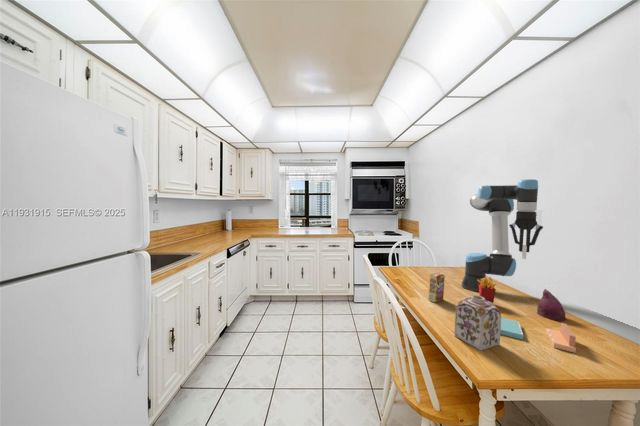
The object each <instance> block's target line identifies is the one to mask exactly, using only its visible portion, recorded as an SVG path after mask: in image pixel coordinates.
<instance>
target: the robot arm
mask: <svg viewBox="0 0 640 426" xmlns="http://www.w3.org/2000/svg"><path fill="white" fill-rule="evenodd" d="M538 181H539V180H537V179H535V178H534V179H533V178H532V179H519V180H518V181H517V184H514V185H513V184H512V185H511V184H510V185H509V184H508V185H488V184H487V185H480V186H479V188H478V190H477V192H478V193H476V194H474V195H472V196H471V198H470V200H469V205H470V206H471V207H472V208H473V209H475V210H478V211H483V212H488V214H489V216H491V241H492V242H491V244H492V245H491V246H492V247H491V252H490V253H489V255H487V253H483V252H482V253H481V252H472V253H471V252H470V253H468V254H466V255H465V262H464V263H465V264H464V265H465V266H464V269H465V270H464V277H463V278H462V281H461V285H460V286H461V288H463V289H465V290H468V291H471V290H472V291H471V292H476V291H477V293H479V284H480V283H479V282H478V281H477V279H478V280H480V279H482V278H485V277H486V276H487V275H492V276H501V277H512V276H514V274H515V272H516V269H517V260H516V259H515V258H514V257H513V255H512V254H511V253H510V251H509V250H510V249H509V228H510V229H511V233H512V237H513V241H514V244H517V245H518V251H519V252H520V253H521V255H520V256H521V258H520V259H522V260H527V253H530V247H531V246H535V244H536V242H537V240H538V237H539V234H540V231H542V229H543V228H544V226H542V225H540V224H538V221H537V210H538V209H537V208H538V205H537V204H538V192H539V182H538ZM515 201H516V212H515V213H516V215H515V216H516V217H515V220H514V223H509V220H508V219H509V218H508V217H509V216H510V215H511V213H512V212H513V211H514V209H515V203H514V202H515ZM516 227H517V228H518V229H519V240H518V235H517V232H516ZM534 228H535V231H534V234H533V235H532V239H531V232H532V230H533V229H534ZM524 233H525V235H526V237H525V239H526V240H525V244H524V236H525V235H524ZM486 278H487V277H486ZM480 281H481V280H480ZM484 284H485V283H484Z"/></svg>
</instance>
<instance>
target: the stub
mask: <svg viewBox="0 0 640 426" xmlns="http://www.w3.org/2000/svg"><path fill="white" fill-rule="evenodd" d="M545 333H546V335H547V337H548V339H549V341H550V343H551V345H552V347H553V348H554V349H555V348H556V349H558V350H563V351H567V352H570V353H573V354H576V353H577V352H576V351H577V348H576V339H577V338H576V335H575V334H574V332H573V331H572V329H571V328H570V327H569V326H568V324H567V323H564V322H561V323H560V330H557V329H553V328H549V327H546V328H545Z"/></svg>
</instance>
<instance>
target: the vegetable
mask: <svg viewBox="0 0 640 426" xmlns="http://www.w3.org/2000/svg"><path fill="white" fill-rule="evenodd" d="M542 291H543V292H542V297H541V299H540V301H539V302H538V304H537V310H536V314H538V315H539V316H541V317H542V318H546V319H549V320H552V321H558V322H563V321H566V312H565V309H564V307H563V304H562V303H561V302H560V301H559V299H558V298H557V297H556V296H555V295H554V294H552V293H551V292H550V291H549V290H548V289H546V288H544V289H543V290H542Z"/></svg>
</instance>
